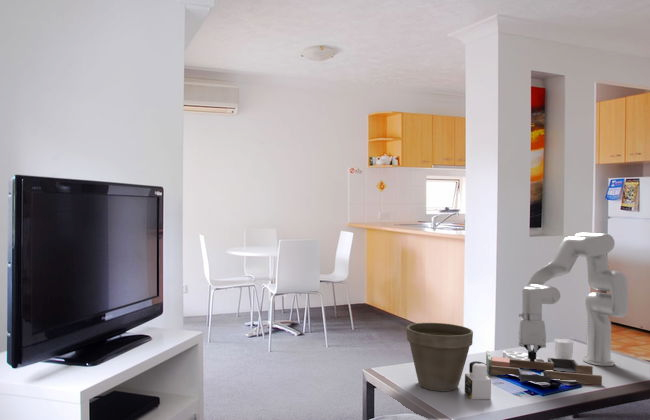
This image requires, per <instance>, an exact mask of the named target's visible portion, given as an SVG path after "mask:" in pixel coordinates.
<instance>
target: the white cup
mask: <svg viewBox="0 0 650 420" xmlns="http://www.w3.org/2000/svg"><path fill="white" fill-rule="evenodd" d="M553 346H554V347H553V348H554V349H553V350H554V351H553V352H554V358H557V359H569V360H573V359H572V358H573V353H574V341H573V340H570V339H567V338H555V339H553Z"/></svg>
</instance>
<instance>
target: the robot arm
mask: <svg viewBox="0 0 650 420" xmlns="http://www.w3.org/2000/svg"><path fill="white" fill-rule="evenodd" d="M615 244H616V243H615V239H614V237H613V236H612V235H611V234H608V233H603V232H602V233H601V232H588V231H587V232H585V231H584V232H578V233H576V234H574V236H567V237H565V238H564V239H563V240H562V241H561V243H560V245H559V246H558V248H557V250H556V252H555V253H554V254H553V257H552V259H551V260H550V261H549V263H547V264H546V265H544V266H542V267H541V268H540V269H538V270H537V271H535V272H534V273H533V275H532V276H531V277H530V278H529V281H528V283H526V286H525V287H523V289H522V294H521V295H522V301H521V302H522V305H521V306H522V311H521V312H520V313H518V317H519V318H520V323H519V329H518V330H519V331H518V344H517V345H518V346H519V347H521V348H525V349H526V350H527V354H528V359H530V361H531V362H532V361H533V362H535V359H536V357H537V353H538V351H539V350H541V349H543V348H544V349H545V348H546V347H547V334H546V333H547V332H546V326H545V325H546V324H545V320H543V305H555V304H557V303H558V302H559V301H560V299H561V292H560V290H559V289H558V288H556V287H554V286H552V285H545V284H546V283H547V282H548V281H550V280H552V279H555V278H558V277H561V276H565V275H567V274H569V273H571V272H572V271H571V270H572V269H573V266H574V265H575V263H576V262H577V260H578V258H579V257H582V258H583V257H585V258H586V267H587V279H588V280H587V281H588V286H589V287H590V288H591V289H594V290H597V291H595V292H590V293H588V294H587V296H586V297H585V309H586V314H587V328H586V329H587V330H586V332H587V336H586V355H585V356H583V357H582V361H583V362H584V363H587V364H590V365H592V366H593V365H594V366H599V367H611V366H612V367H613V366H614V365H615V361H614V360H612V359H611V358H612V357H611V356H612V354H611V353H612V322H611V320H610V318H609V317H614V318H623V317H625V316H627V314H628V312H629V306H630V304H629V287H628V285H629V284H628V279H627V277H626V275H625V274H624V273H623V272H621V271H619V270H614V269H613V270H611V269H610V268H609V258H608V255H607V254H608V253H611V251H613V249H614V248H615ZM599 291H600V292H599ZM602 291H603V292H602ZM608 292H610V293H608ZM531 346H533V347H532V348H531Z"/></svg>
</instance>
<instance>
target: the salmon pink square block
mask: <svg viewBox="0 0 650 420" xmlns="http://www.w3.org/2000/svg"><path fill="white" fill-rule="evenodd" d="M491 357H492V366H502V367H510V358H503V356H502V357H500V356H491Z"/></svg>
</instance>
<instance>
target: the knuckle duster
mask: <svg viewBox="0 0 650 420" xmlns="http://www.w3.org/2000/svg"><path fill="white" fill-rule="evenodd" d="M502 358H510V359H517V360H528V361H530V359H528V352H525V351H514V350H503V351H502ZM535 361H540V362H545V360H544V359H542V358H541V357H537V356H536V359H535Z"/></svg>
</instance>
